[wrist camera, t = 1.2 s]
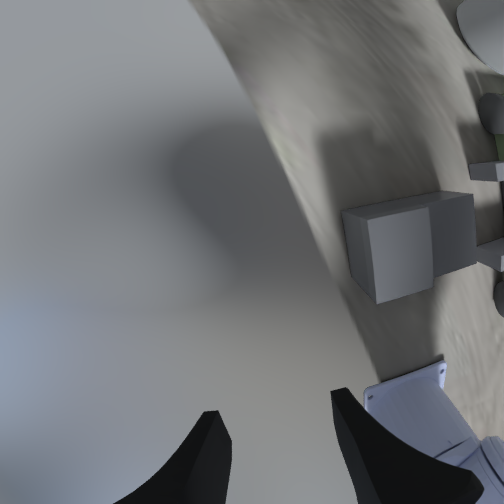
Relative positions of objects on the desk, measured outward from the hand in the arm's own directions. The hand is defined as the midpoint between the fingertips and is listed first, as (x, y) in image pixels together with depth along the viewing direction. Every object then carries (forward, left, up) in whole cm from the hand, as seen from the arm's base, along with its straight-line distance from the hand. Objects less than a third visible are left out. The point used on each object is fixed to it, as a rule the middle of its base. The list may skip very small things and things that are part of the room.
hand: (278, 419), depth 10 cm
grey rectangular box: (+4, -10, -9) cm, 14 cm away
